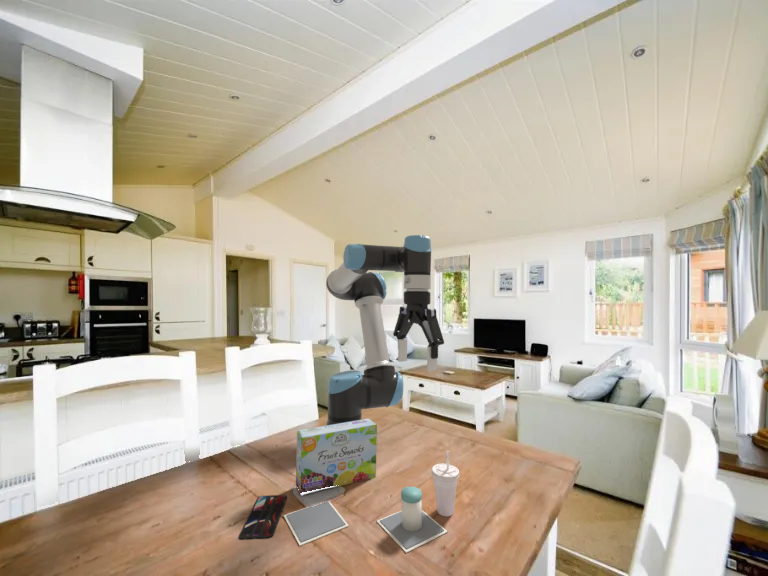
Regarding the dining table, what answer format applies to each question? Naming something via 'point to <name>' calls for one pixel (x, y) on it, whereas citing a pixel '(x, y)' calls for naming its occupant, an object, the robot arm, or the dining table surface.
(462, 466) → the dining table surface
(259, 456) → the dining table surface
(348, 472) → the snack box
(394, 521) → the mat drink
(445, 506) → the smoothie
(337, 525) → the plate
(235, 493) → the dining table surface
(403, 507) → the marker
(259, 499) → the smartphone
